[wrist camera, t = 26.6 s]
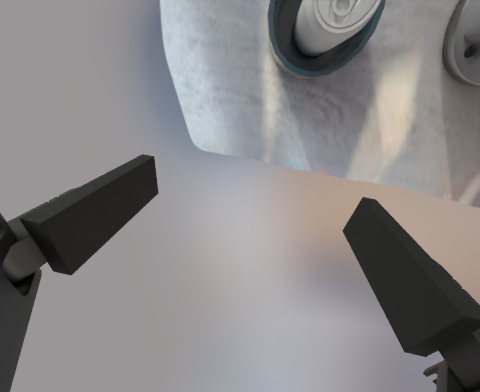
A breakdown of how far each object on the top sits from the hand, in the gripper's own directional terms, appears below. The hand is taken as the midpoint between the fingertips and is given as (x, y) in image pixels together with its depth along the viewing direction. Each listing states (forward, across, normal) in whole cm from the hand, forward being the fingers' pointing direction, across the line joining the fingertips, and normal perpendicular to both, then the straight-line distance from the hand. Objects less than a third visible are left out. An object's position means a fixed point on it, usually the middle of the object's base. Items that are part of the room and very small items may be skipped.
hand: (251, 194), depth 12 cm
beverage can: (+24, +4, +14) cm, 28 cm away
